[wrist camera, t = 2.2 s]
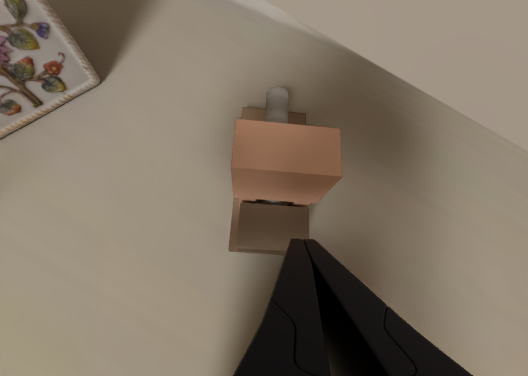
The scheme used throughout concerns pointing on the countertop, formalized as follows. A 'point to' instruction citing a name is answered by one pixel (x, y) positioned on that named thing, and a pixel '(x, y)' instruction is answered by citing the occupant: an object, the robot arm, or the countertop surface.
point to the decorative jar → (37, 63)
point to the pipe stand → (268, 211)
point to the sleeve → (284, 162)
